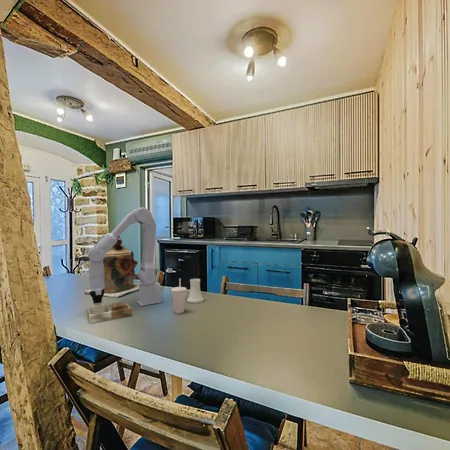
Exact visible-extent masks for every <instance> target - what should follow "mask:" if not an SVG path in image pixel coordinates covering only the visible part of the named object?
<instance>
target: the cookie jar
mask: <svg viewBox="0 0 450 450" xmlns="http://www.w3.org/2000/svg"><path fill="white" fill-rule="evenodd" d="M122 243H123V241H122V238H121V237H120V235H119V236H118V237H117V242H116V244H115V245H114V246H113V247H112V248H111V249H110V250H109V251H108V252H107V253H105V257H104V259H103V265H104V285H105V288H104V291H105V293H104V295H103V297H110V298H114V299H116V298H119V297H121V296H124V295H126V294H128V293H133V292H136V291H139V282H134V280H135V279H136V272H135V269H136V267H137V265H138V263H139V262H138V261H137V260H135V257H134V255H135V254H134V251H133V250H129V249H128V248H127V247H125V246H124V245H123V244H122ZM90 291H92V290H90V289H88V290H87V289H85V290H84V293H85V294H88V295H90Z"/></svg>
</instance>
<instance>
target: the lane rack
mask: <svg viewBox="0 0 450 450" xmlns="http://www.w3.org/2000/svg"><path fill="white" fill-rule="evenodd" d="M124 304H125V308H126V309H121V310H115V311H112V308H110V306H109V305H108V306H106V311H105V312H104V313H98V314H93V315H92V311H91V310H90V308H89V309H87V310H86V311H87V319H88V324H90V325H92V324H95V323H97V324H98V323H101V322H107V321H112V320H117V319H122V318H127V317H132V316H133V308H132V307H131V306H130V305H129V304H128V303H127V302H126V303H124Z"/></svg>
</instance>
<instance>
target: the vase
mask: <svg viewBox="0 0 450 450" xmlns="http://www.w3.org/2000/svg"><path fill="white" fill-rule="evenodd" d="M189 283H190V288H189V295H188V298H187V301H186V302H188V304H199V303H203V302H204V297H203V295H202V292H201V279H200V278H191V279H189Z"/></svg>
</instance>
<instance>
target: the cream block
mask: <svg viewBox="0 0 450 450" xmlns="http://www.w3.org/2000/svg"><path fill="white" fill-rule="evenodd" d="M104 312H106V306H105V302H104V301H102V302H100V303H91V315H93V314H98V313H104Z"/></svg>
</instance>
